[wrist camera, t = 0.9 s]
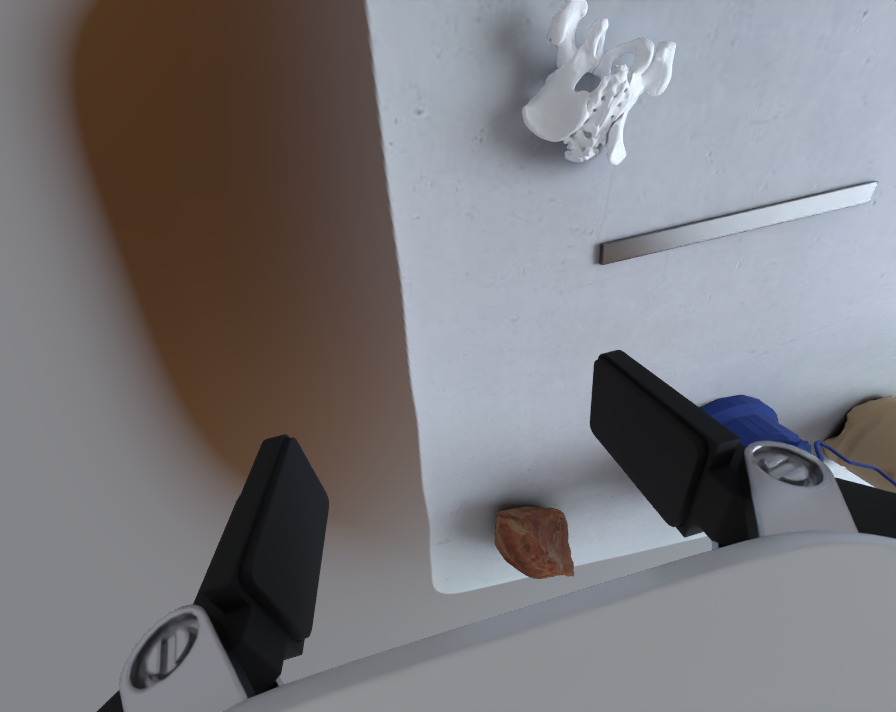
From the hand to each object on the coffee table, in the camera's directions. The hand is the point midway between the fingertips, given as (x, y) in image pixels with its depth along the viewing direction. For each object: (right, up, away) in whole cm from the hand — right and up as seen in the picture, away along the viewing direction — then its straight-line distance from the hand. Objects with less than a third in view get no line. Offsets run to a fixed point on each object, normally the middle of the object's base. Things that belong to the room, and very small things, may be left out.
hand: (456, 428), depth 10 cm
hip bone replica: (+8, +18, +11) cm, 22 cm away
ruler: (+23, +13, +16) cm, 31 cm away
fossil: (+9, -17, +30) cm, 36 cm away
